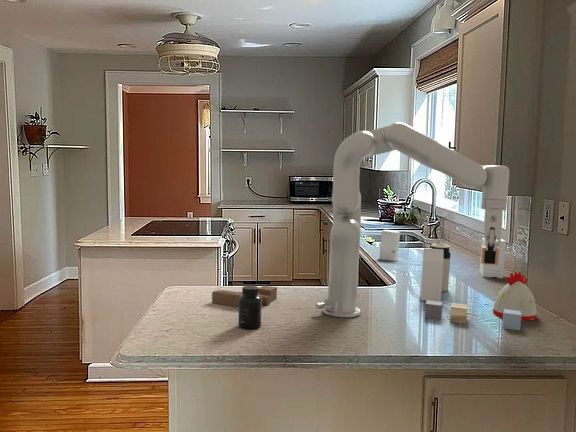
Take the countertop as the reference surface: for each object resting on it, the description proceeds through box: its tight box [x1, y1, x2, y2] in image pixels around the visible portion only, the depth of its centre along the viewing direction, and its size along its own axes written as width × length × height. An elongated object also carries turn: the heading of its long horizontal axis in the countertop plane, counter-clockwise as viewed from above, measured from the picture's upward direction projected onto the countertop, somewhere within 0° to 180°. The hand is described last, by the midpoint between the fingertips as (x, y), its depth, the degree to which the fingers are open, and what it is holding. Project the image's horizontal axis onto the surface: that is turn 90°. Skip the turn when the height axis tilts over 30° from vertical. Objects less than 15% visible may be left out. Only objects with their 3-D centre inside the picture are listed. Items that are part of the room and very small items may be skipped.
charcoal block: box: [424, 300, 443, 321], centre depth 191 cm, size 5×5×5 cm
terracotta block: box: [480, 246, 499, 265], centre depth 183 cm, size 5×5×5 cm
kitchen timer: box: [492, 271, 538, 322], centre depth 197 cm, size 14×14×15 cm
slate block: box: [502, 309, 522, 331], centre depth 183 cm, size 5×5×5 cm
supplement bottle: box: [237, 285, 263, 331], centre depth 172 cm, size 7×7×12 cm
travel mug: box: [430, 243, 451, 293], centre depth 231 cm, size 8×8×18 cm
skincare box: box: [379, 229, 401, 262], centre depth 294 cm, size 8×6×15 cm
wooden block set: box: [211, 285, 278, 309], centre depth 201 cm, size 17×6×18 cm
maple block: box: [449, 302, 468, 324], centre depth 188 cm, size 5×5×5 cm
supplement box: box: [478, 237, 507, 279], centre depth 263 cm, size 10×9×17 cm
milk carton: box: [419, 247, 444, 302], centre depth 214 cm, size 7×7×19 cm
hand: (489, 261), depth 184 cm, fingers closed on terracotta block, 4 cm apart
